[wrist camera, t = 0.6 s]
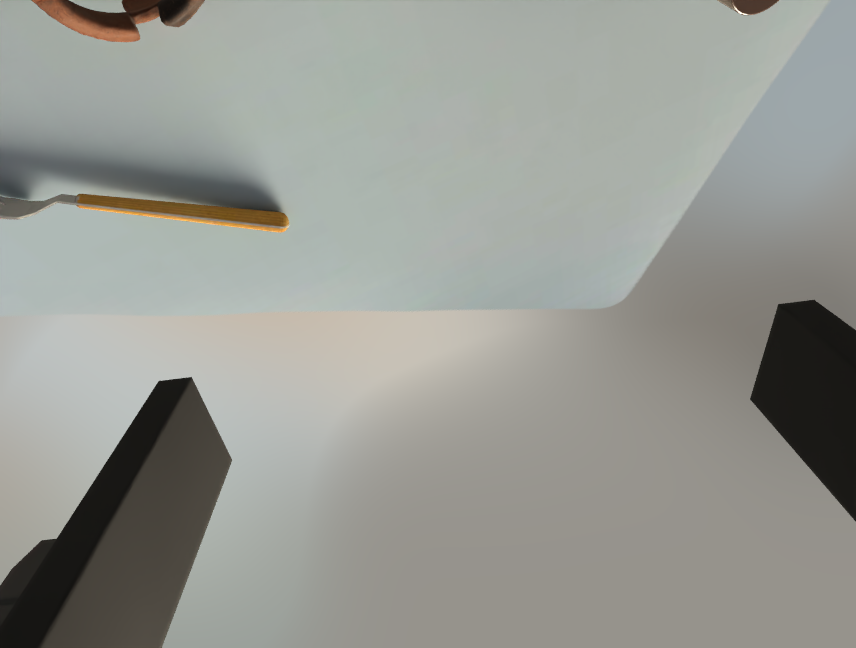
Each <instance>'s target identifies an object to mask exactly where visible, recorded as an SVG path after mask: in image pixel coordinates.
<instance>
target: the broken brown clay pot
mask: <svg viewBox="0 0 856 648" xmlns="http://www.w3.org/2000/svg"><path fill="white" fill-rule="evenodd" d="M32 1H33V2H34V3H35V4H37V5H38V6H39V7H40V8H41V9H42V10H44V11H45V12H46V13H47V14H48V15H49V16H51V17H52V18H54V19H56V20H57V21H59V22H60V23H62V24H63V25H65V26H67V27H68V28H70V29H72V30H74V31H77V32H79V33H81V34H83V35H88V36H91V37H94V38H97V39H102V40H107V41H112V42H133V41H138V40H140V35H139V32H138V29H137V27H136V25H135V24H139V23H144V22H147V21H151V20H153V19H155V18H157V17H159V16H160V18H161V21H162V22H163V23H164V24H165V25H167V26H173V27H180V26H182V25H184V24H185V23H186V22H187V21H188V20H189V19H191V17H192V16H193V15H194V14H195V13H196V12H197V10H198V8H199V7H200V6H201V5H202V3H203V2H204V1H205V0H122V4H123V7H124V9H125V11H126V12H122V13H107V12H100V11H94V10H90V9H87V8H84V7H81V6H79V5H77V4H75V3H73V2H71V1H69V0H32Z"/></svg>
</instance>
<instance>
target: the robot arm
mask: <svg viewBox="0 0 856 648" xmlns="http://www.w3.org/2000/svg"><path fill="white" fill-rule="evenodd" d="M750 400H751V401H752V402H753V403H754V404H755V405H756V407H757V408H758V409H759V410H760V411H761V412H762V413H763V415H764V416H765V417H766V418H767V419H768V420H769V422H770V423H771V424H772V425H773V426H774V427H775V429H776V430H777V431H778V432H779V433H780V434H781V435H782V436H783V438H784V439H785V440H786V441H787V442H788V444H789V445H790V446H791V447H792V448H793V449H794V450H795V452H796V453H797V454H798V455H799V456H800V457H801V458H802V460H803V461H804V462H805V463H806V464H807V466H808V467H809V468H810V469H811V470H812V471H813V472H814V474H815V475H816V476H817V477H818V478H819V479H820V481H821V482H822V483H823V484H824V485H825V486H826V488H827V489H828V490H829V491H830V492H831V493H832V495H833V496H834V497H835V498H836V499H837V500H838V501H839V503H840V504H841V505H842V506H843V507H844V508H845V510H846V511H847V512H848V513H849V514H850V515H851V516H852V518H853V519H854V520H855V521H856V330H855V329H853V328H852V327H850V326H849V325H848V324H846V323H845V322H844V321H842V320H841V319H840V318H838V317H837V316H836V315H834V314H833V313H831V312H830V311H829V310H827V309H826V308H824V307H823V306H822V305H820V304H819V303H818V302H816V301H815V300H809V301H801V302H794V303H785V304H778V307H777V311H776V314H775V318H774V321H773V324H772V328H771V331H770V335H769V338H768V342H767V344H766V348H765V351H764V355H763V358H762V361H761V365H760V368H759V372H758V375H757V378H756V381H755V385H754V388H753V391H752V395H751V398H750ZM231 462H232V459H231V457H230V455H229V453H228V451H227V449H226V447H225V445H224V442H223V440H222V438H221V436H220V434H219V432H218V430H217V428H216V426H215V424H214V422H213V420H212V418H211V416H210V414H209V412H208V410H207V408H206V406H205V404H204V402H203V400H202V398H201V396H200V394H199V392H198V390H197V387H196V385H195V383H194V381H193V379H192V377H189V378H181V379H173V380H165V381H159V382H158V383H157V385H156V386H155V388H154V389H153V391H152V392H151V394H150V395H149V397H148V399H147V400H146V402H145V403H144V405H143V407H142V408H141V410H140V411H139V412H138V414H137V416H136V417H135V419H134V420H133V422H132V424H131V425H130V427H129V428H128V430H127V431H126V433H125V434H124V436H123V437H122V439H121V440H120V442H119V444H118V445H117V447H116V448H115V450H114V451H113V453H112V454H111V456H110V457H109V459H108V461H107V462H106V464H105V465H104V467H103V468H102V470H101V471H100V473H99V475H98V476H97V477H96V479H95V481H94V482H93V484H92V485H91V487H90V488H89V490H88V492H87V493H86V495H85V496H84V498H83V499H82V501H81V502H80V504H79V506H78V507H77V508H76V510H75V512H74V513H73V515H72V516H71V518H70V520H69V521H68V523H67V524H66V525H65V527H64V528H63V530H62V532H61V533H60V535H59V536H58V538H57V539H50V540H42V541H41V542H40V543H39V544H38V545H36V547H34V548H33V550H31V551H30V552H29V553H28V554H27V555H26V556H25V557H24V558H23V559H22V560H21V561H20V562H19V563H18V564H17V565H16V566H14V567H13V568H12V570H11V571H10V572H9V574H8V576H7V577H6V578H5V580H4V581H3V583H2V584H1V585H0V648H162V645H163V643H164V640H165V637H166V635H167V632H168V629H169V626H170V624H171V621H172V619H173V616H174V613H175V611H176V608H177V605H178V603H179V600H180V597H181V595H182V592H183V589H184V587H185V584H186V582H187V579H188V576H189V573H190V571H191V568H192V565H193V563H194V560H195V558H196V555H197V552H198V550H199V547H200V544H201V542H202V539H203V536H204V533H205V531H206V528H207V526H208V523H209V520H210V518H211V515H212V512H213V510H214V507H215V504H216V502H217V499H218V496H219V494H220V491H221V488H222V486H223V483H224V480H225V478H226V475H227V473H228V470H229V467H230V465H231Z"/></svg>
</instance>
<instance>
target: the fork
mask: <svg viewBox="0 0 856 648" xmlns="http://www.w3.org/2000/svg"><path fill="white" fill-rule="evenodd" d="M56 203H62V204H71V205H76V206H77V207H79V208H85V209H93V210H101V211H109V212H117V213H125V214H134V215H142V216H150V217H158V218H166V219H174V220H183V221H191V222H199V223H207V224H215V225H224V226H232V227H240V228H248V229H256V230H264V231H273V232H284V231H285V230H287V228H288V227H289V220H288V217H287V216H286V215H285V214H284V213H281V212H272V211H261V210H251V209H240V208H229V207H218V206H207V205H196V204H185V203H175V202H164V201H153V200H142V199H131V198H120V197H109V196H99V195H88V194H78V195H77V196H74V195H65V194H61V195H58V196H56V197H53V198H50V199H48V200H45V201H28V200H21V199H13V198H6V197H1V196H0V219H21V218H25V217H28V216H32V215H35V214H37V213H39V212H41V211H43V210H45V209H46V208H48V207H50V206H52V205H54V204H56Z"/></svg>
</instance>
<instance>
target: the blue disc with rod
mask: <svg viewBox="0 0 856 648" xmlns="http://www.w3.org/2000/svg"><path fill="white" fill-rule="evenodd" d="M717 1H719V2H721V3H722V4H724V5H726V6H727V7H729V8H731V9H732V10H734V11H736V12H737V13H739V14H742V15H754V14H757V13H760V12H763V11H765V10H766V9H768V8H770V7H771V6H773V5H774V4H775V3H777V2H778V1H779V0H717Z"/></svg>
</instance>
